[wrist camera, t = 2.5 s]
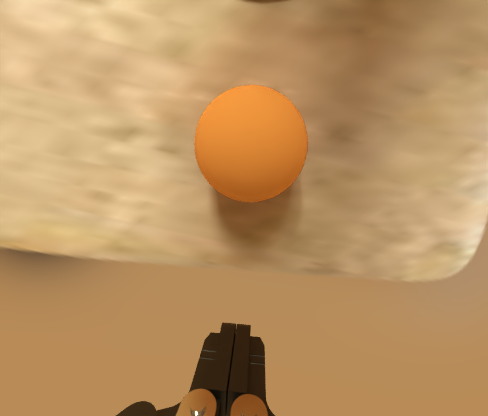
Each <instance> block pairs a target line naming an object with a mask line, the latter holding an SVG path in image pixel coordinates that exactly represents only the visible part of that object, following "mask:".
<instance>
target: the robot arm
mask: <svg viewBox="0 0 488 416" xmlns="http://www.w3.org/2000/svg"><path fill="white" fill-rule="evenodd" d="M250 327H251V326H250V325H244V324H237V328H236V324H232V323H222V326H221V331H220V333H210V335H209V336H208V337H207V338H206V339H205V341H204V345H203V348H202V351H201V354H200V359H199V361H198V364H197V368H196V371H195V375H194V378H193V382H192V385H191V388H190V391H189V393H188V394H187V395H186V396H185V397H184V398H183V400H182V401H181V402H180V403H178V404H177V405H175V406H173V407H169V408H165V409H162V410H157V411H156V409H155V407H154V406H153V405H152V404H151V403H149V402H146V401H141V402H137V403H134V404H132V405H130V406H129V407H127V408H126V409H124V410H123V411H122V412H120V413H119V414H118V415H116V416H275V415H274V414H273V413H272V412H271V411H270V409H269V407H268V405H267V402H266V392H265V391H266V390H265V351H264V344H263V342H262V340H261V338H260V337H252V336H250Z"/></svg>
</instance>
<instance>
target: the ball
mask: <svg viewBox="0 0 488 416" xmlns="http://www.w3.org/2000/svg"><path fill="white" fill-rule="evenodd" d="M307 145H308V141H307V132H306V127H305V124H304V121H303V119H302V117H301V115H300V113H299V111H298V110H297V108H296V107H295V106H294V105H293V103H292V102H291V101H290V100H289V99H287V98H286V97H285V96H284V95H282V94H281V93H279V92H277V91H275V90H273V89H271V88H268V87H264V86H258V85H244V86H239V87H235V88H232V89H230V90H228V91H226V92H224V93H222V94H221V95H219V96H218V97H217V98H215V99H214V100H213V101H212V102H211V103H210V104H209V106H208V107H207V108H206V109H205V111H204V113H203V114H202V116H201V118H200V120H199V123H198V126H197V129H196V134H195V154H196V159H197V162H198V166H199V168H200V170H201V172H202V174H203V175H204V177H205V179H206V180H207V181H208V182H209V184H210V185H211V186H212V187H213V188H215V189H216V190H217V191H218V192H220V193H221V194H223V195H225V196H226V197H229V198H231V199H234V200H238V201H243V202H258V201H263V200H267V199H270V198H272V197H275V196H277V195H278V194H280V193H282V192H283V191H284V190H286V189H287V188H288V187H289V186H290V185H291V184H292V183H293V182H294V181H295V179H296V178H297V177H298V175H299V173H300V172H301V170H302V167H303V165H304V162H305V159H306V154H307Z"/></svg>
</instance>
